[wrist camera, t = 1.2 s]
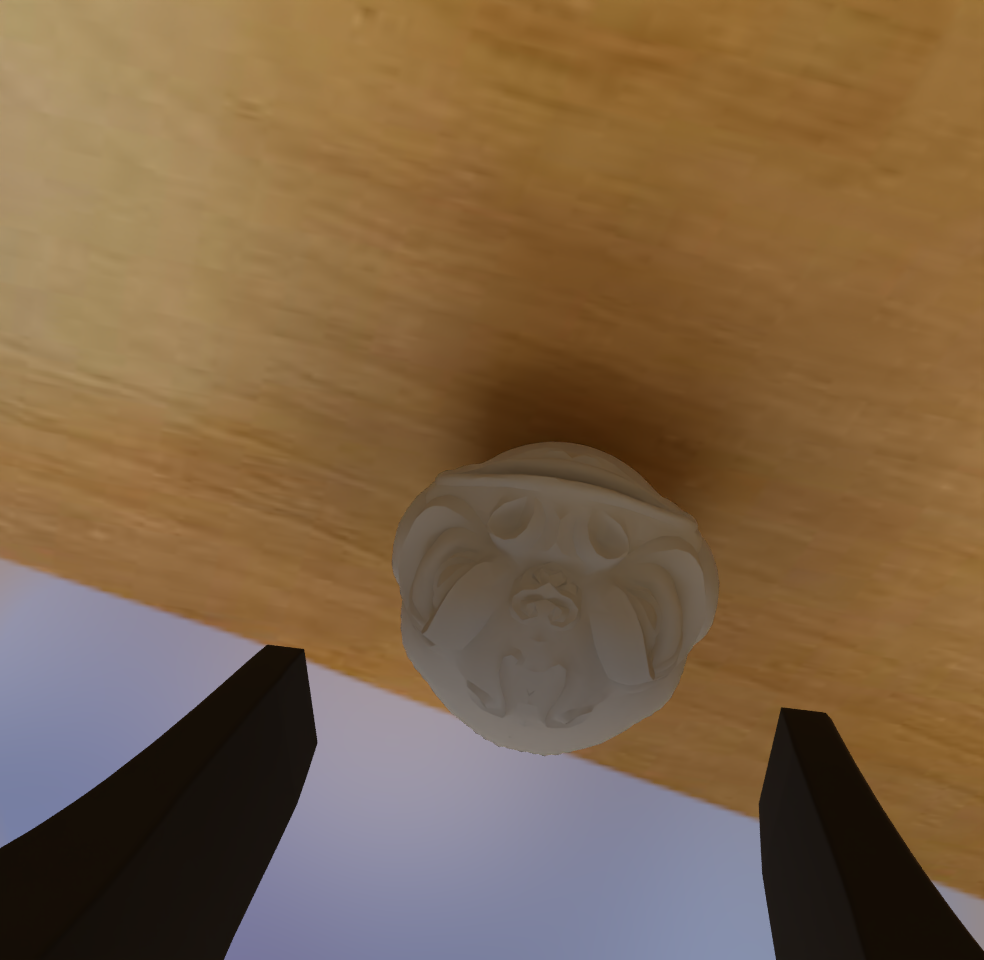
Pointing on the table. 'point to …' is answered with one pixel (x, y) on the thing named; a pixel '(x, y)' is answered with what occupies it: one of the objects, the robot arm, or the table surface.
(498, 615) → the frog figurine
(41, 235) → the table surface
